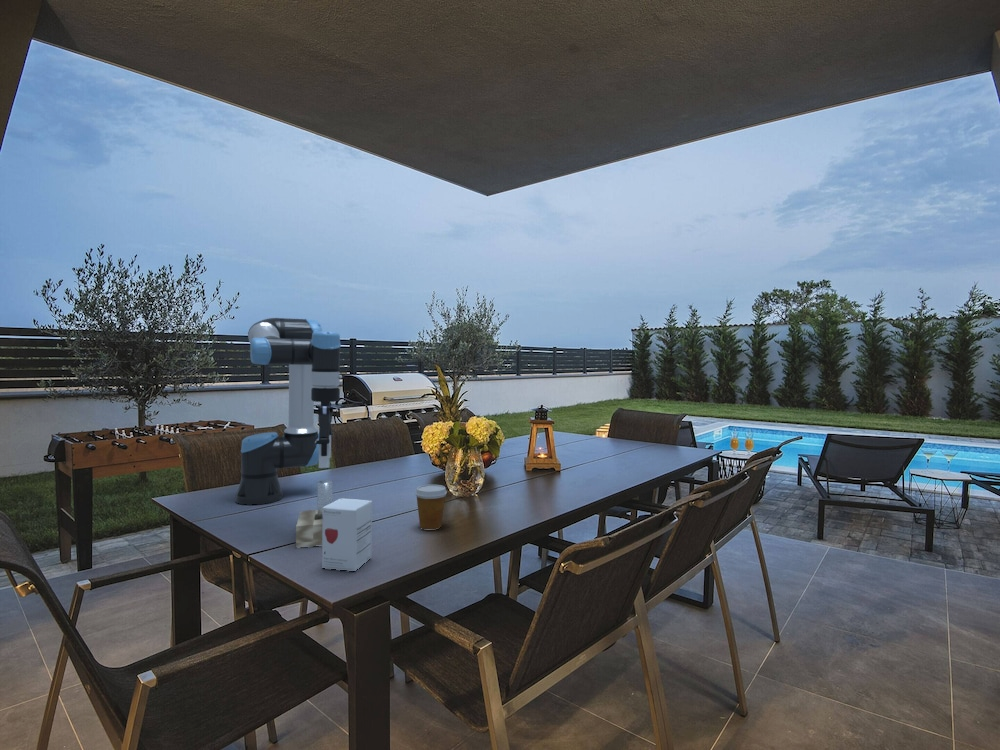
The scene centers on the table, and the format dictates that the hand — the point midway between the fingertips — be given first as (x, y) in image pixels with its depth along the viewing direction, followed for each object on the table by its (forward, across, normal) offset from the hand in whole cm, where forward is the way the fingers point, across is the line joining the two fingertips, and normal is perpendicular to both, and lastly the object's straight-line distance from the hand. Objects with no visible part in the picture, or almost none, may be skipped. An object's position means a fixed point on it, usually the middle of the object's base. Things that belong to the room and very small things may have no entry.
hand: (325, 462), depth 143 cm
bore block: (+21, -1, 0) cm, 21 cm away
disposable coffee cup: (+21, 0, -30) cm, 37 cm away
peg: (+20, 0, 0) cm, 20 cm away
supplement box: (+21, -22, -6) cm, 31 cm away
